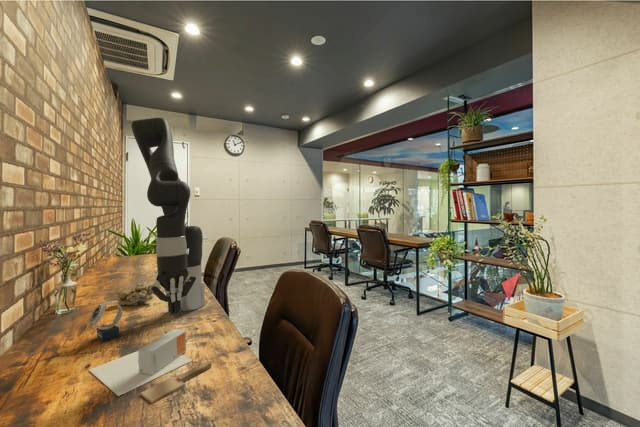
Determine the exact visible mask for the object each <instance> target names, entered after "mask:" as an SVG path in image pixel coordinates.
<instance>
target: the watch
mask: <svg viewBox="0 0 640 427" xmlns="http://www.w3.org/2000/svg"><path fill="white" fill-rule="evenodd" d="M109 305H116V306H117V308H118V310H117V312H116V316H115V318H114V319H113V321H112V323H110V324H106V325H103V326H98V325H97V324H98V322H99V321H100V320H101V319H102V317H103V316H104V314H105V310H106V309H107V307H108V306H109ZM123 313H124V312H123V307H122V305H118V302H113V301H106V302H103V303H101V304H99V305H97V306H96V307H95V308H94V310H92V313H91V316H90V322H91V324H92V325H93V326H94V327H95V328H96V338H97V340H99V341H100V342H101V343H106V342H109V341H113V340H115V339H119V338H120V328H119V326H117V325H118V323H119V322H120V321H121V319H122V316H123Z"/></svg>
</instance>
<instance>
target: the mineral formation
mask: <svg viewBox="0 0 640 427" xmlns="http://www.w3.org/2000/svg"><path fill="white" fill-rule="evenodd" d="M148 287H149V286H146V285H144V283H142V282H141V283H140V282H139V283H138V284H136V287H135V288H132V289H131V290H130V291H126V290H123V289H122V290H117V291H116V295H117V296H116V297H115V300H116V301H117V304H118V305H120V306H125V305H127V306H130V305H131V306H135V307H136V306H138V305H139V304H142V303H145V302H147V300H153V299H154V296H155V295H154V294H153V293H152V292H151V291H150V290H149V289H148Z"/></svg>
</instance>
